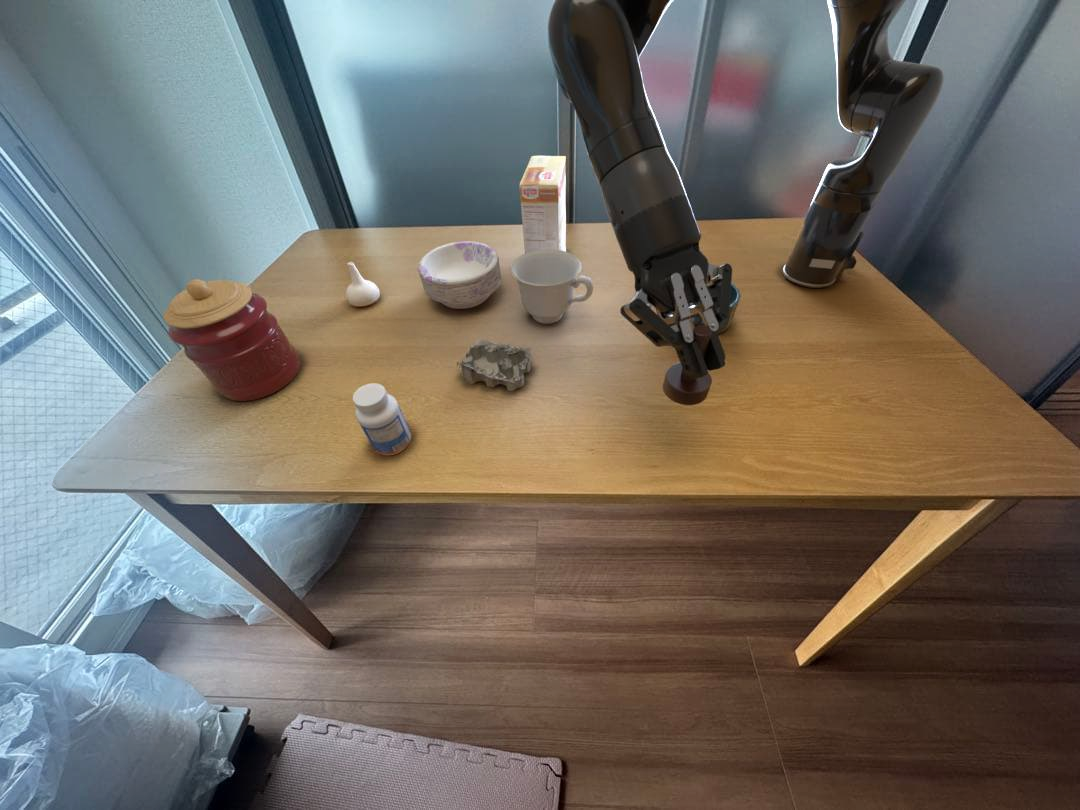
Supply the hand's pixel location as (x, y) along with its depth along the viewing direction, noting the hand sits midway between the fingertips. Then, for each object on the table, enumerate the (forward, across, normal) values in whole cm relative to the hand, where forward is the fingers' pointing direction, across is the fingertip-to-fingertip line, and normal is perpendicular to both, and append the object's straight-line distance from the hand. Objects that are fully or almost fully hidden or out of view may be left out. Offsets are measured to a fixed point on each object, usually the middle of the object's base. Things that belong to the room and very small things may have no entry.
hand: (708, 371), depth 43 cm
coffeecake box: (-26, +10, +48) cm, 56 cm away
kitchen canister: (-23, -47, +45) cm, 70 cm away
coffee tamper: (+2, 0, +5) cm, 5 cm away
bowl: (-4, +24, +27) cm, 36 cm away
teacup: (-14, +2, +37) cm, 39 cm away
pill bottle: (-5, -32, +27) cm, 42 cm away
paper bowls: (-25, -9, +48) cm, 55 cm away
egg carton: (-9, -13, +31) cm, 35 cm away
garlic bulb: (-32, -27, +54) cm, 69 cm away
